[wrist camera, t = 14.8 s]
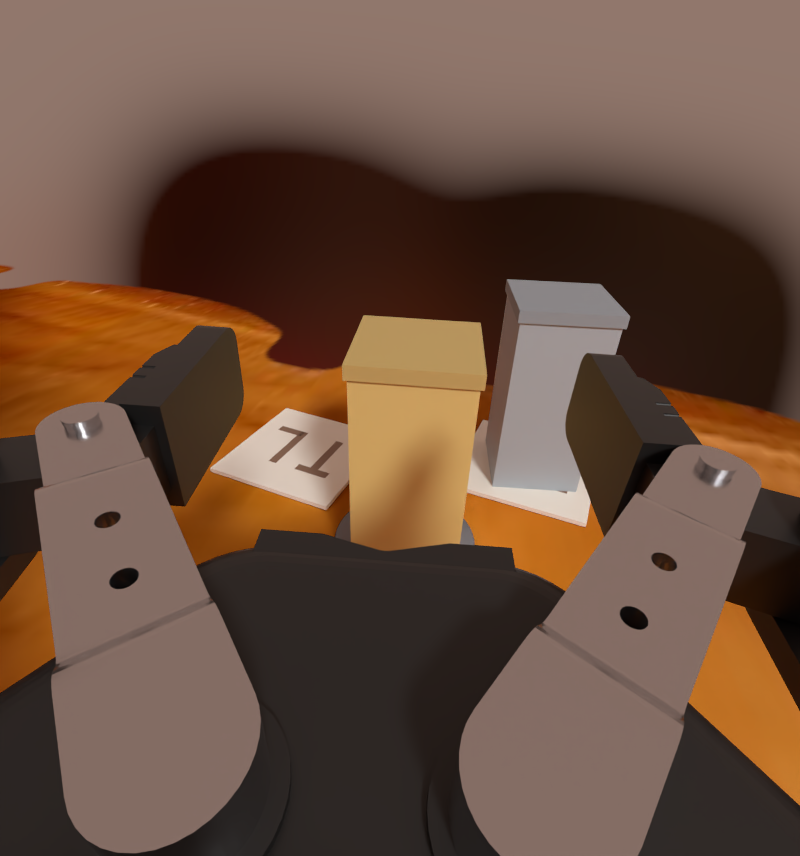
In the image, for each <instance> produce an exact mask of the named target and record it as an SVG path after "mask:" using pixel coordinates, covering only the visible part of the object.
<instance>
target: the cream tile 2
mask: <svg viewBox="0 0 800 856" xmlns="http://www.w3.org/2000/svg"><path fill="white" fill-rule="evenodd" d="M487 427H488V421H487V420H483V421H482V422H481V424H480V426H479V428H478V429H477V431H476V433H475V436H474V443H473V451H472V458H471V465H470V473H469V480H468V487H467V493H470V494H474V495H477V496H480V497H484V498H487V499H491V500H494V501H497V502H501V503H504V504H508V505H511V506H515V507H518V508H521V509H525V510H528V511H532V512H535V513H538V514H542V515H545V516H549V517H552V518H556V519H559V520H562V521H566V522H569V523H573V524H576V525H579V526H583V527H586V524H587V518H588V512H589V507H590V498H589V495H588V493H587V490H586V488H585V485H584V482H583V480H582V477H581V476H580V480H579V483H578V487H577V490H576V492H570V491H554V490H539V489H523V488H508V487H492V481H491V474H490V468H489V461H488V454H487V447H486V441H485V440H486V433H487Z"/></svg>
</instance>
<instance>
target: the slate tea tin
mask: <svg viewBox="0 0 800 856" xmlns="http://www.w3.org/2000/svg"><path fill="white" fill-rule="evenodd" d="M505 291H506V293H507V302H506V308H505V315H504V322H503V328H502V334H501V341H500V348H499V355H498V361H497V368H496V374H495V381H494V387H493V394H492V400H491V407H490V414H489V420H488V427H487V433H486V440H485V441H486V447H487V454H488V461H489V468H490V474H491V481H492V487H508V488H523V489H539V490H554V491H570V492H576V490H577V487H578V483H579V480H580V476H581V475H580V472H579V469H578V467H577V464H576V461H575V459H574V456H573V454H572V451H571V448H570V446H569V443H568V441H567V438H566V432H565V422H566V414H567V410H568V407H569V403H570V399H571V396H572V392H573V389H574V385H575V381H576V378H577V374H578V371H579V367H580V364H581V361H582V359H583V357H584V355H585V354H587V353H595V354H610V355H615V354H616V350H617V347H618V343H619V340H620V336H621V333H622V329H627V326H628V322H629V319H630V316H629V315H628V314H627V312H626V311H625V310H624V309H623V308H622V307H621V306H620V305H619V304H618V303H617V302H616V301H615V300H614V299H613V297H612V296H611V295H610V294H609V293H608V292H607V291H606V290H605V289H604V288H603V287H602V286H601V285H600V284H587V283H568V282H548V281H528V280H510V279H507V283H506V290H505Z"/></svg>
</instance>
